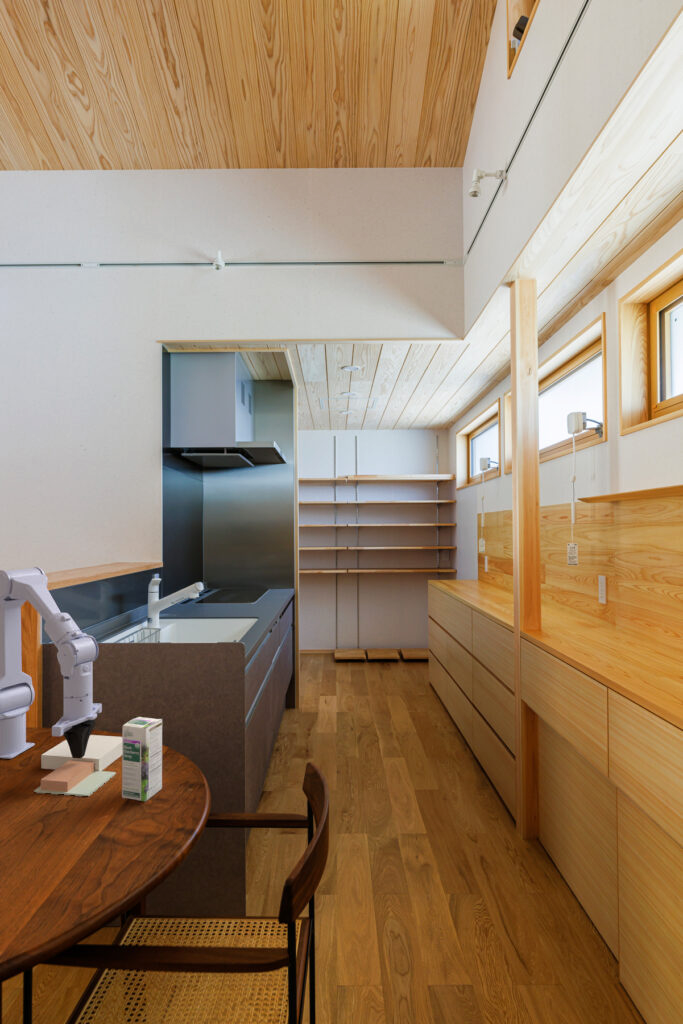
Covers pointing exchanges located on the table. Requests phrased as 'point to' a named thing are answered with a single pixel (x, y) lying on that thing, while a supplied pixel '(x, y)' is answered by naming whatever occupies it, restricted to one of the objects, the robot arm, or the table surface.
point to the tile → (67, 776)
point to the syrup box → (141, 758)
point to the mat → (84, 784)
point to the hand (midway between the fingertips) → (78, 756)
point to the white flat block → (97, 751)
